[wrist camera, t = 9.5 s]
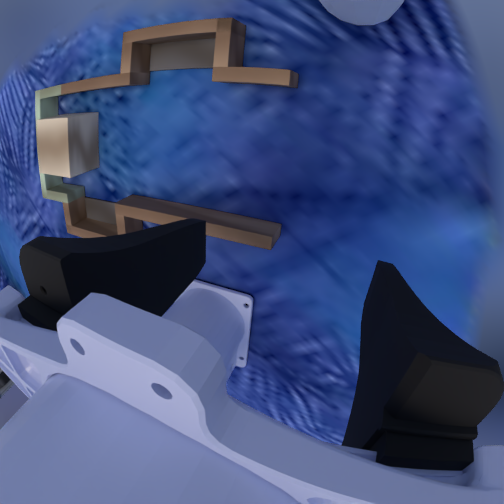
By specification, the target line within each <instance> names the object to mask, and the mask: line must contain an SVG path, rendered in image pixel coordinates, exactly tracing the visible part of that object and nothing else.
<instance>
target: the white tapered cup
mask: <svg viewBox="0 0 504 504" xmlns="http://www.w3.org/2000/svg"><path fill="white" fill-rule="evenodd" d="M319 1H320V2H321V3H322V5H323V6H324V7H325V9H326V10H327V11H328V12H329V13H331V14H332V15H334V16H335V17H337V18H338V19H340V20H341V21H345V22H348V23H352V24H355V25H375V24H378V23H381V22H383V21H386V20H388V19H389V18H390V17H391V16H392V15H393V14H394V13H395V12H396V11H397V10H398V8H399V7H400V6H401V4H402V3H403V2H404V0H319Z"/></svg>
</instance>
